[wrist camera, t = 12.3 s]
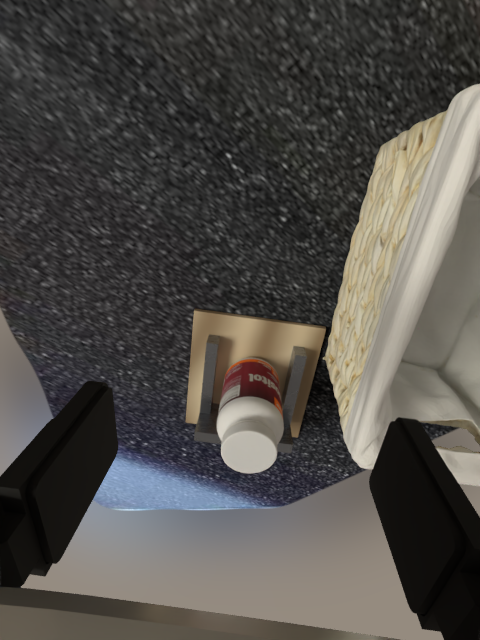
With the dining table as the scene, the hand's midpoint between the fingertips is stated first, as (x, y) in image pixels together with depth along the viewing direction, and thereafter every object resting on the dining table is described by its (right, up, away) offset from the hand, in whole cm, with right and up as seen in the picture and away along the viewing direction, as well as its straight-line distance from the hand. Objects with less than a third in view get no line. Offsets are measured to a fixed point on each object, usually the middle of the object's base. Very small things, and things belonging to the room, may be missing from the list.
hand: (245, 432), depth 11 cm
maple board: (+1, -2, +26) cm, 26 cm away
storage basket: (+17, +8, +21) cm, 28 cm away
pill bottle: (+1, -3, +26) cm, 26 cm away
